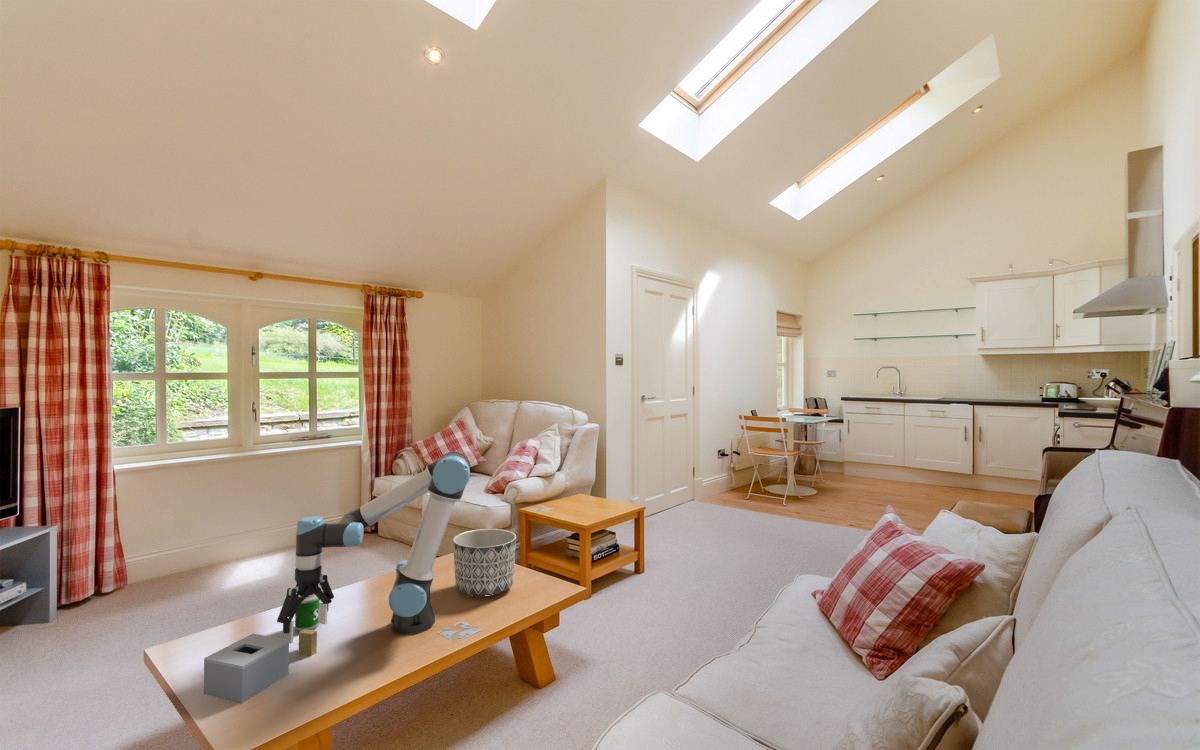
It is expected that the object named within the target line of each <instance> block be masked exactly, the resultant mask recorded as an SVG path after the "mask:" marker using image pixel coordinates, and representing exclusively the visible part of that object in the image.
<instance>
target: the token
mask: <svg viewBox="0 0 1200 750" xmlns="http://www.w3.org/2000/svg"><path fill="white" fill-rule="evenodd" d="M317 639H318V631H317V630H307V629H304V630H302V631H300V632H299V631H298V655H303V656H306V657H312V656H315V655H316V654H317V653H318V651H317V650H318V649H317V648H318V647H317V646H318V645H317V644H318V640H317Z"/></svg>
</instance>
